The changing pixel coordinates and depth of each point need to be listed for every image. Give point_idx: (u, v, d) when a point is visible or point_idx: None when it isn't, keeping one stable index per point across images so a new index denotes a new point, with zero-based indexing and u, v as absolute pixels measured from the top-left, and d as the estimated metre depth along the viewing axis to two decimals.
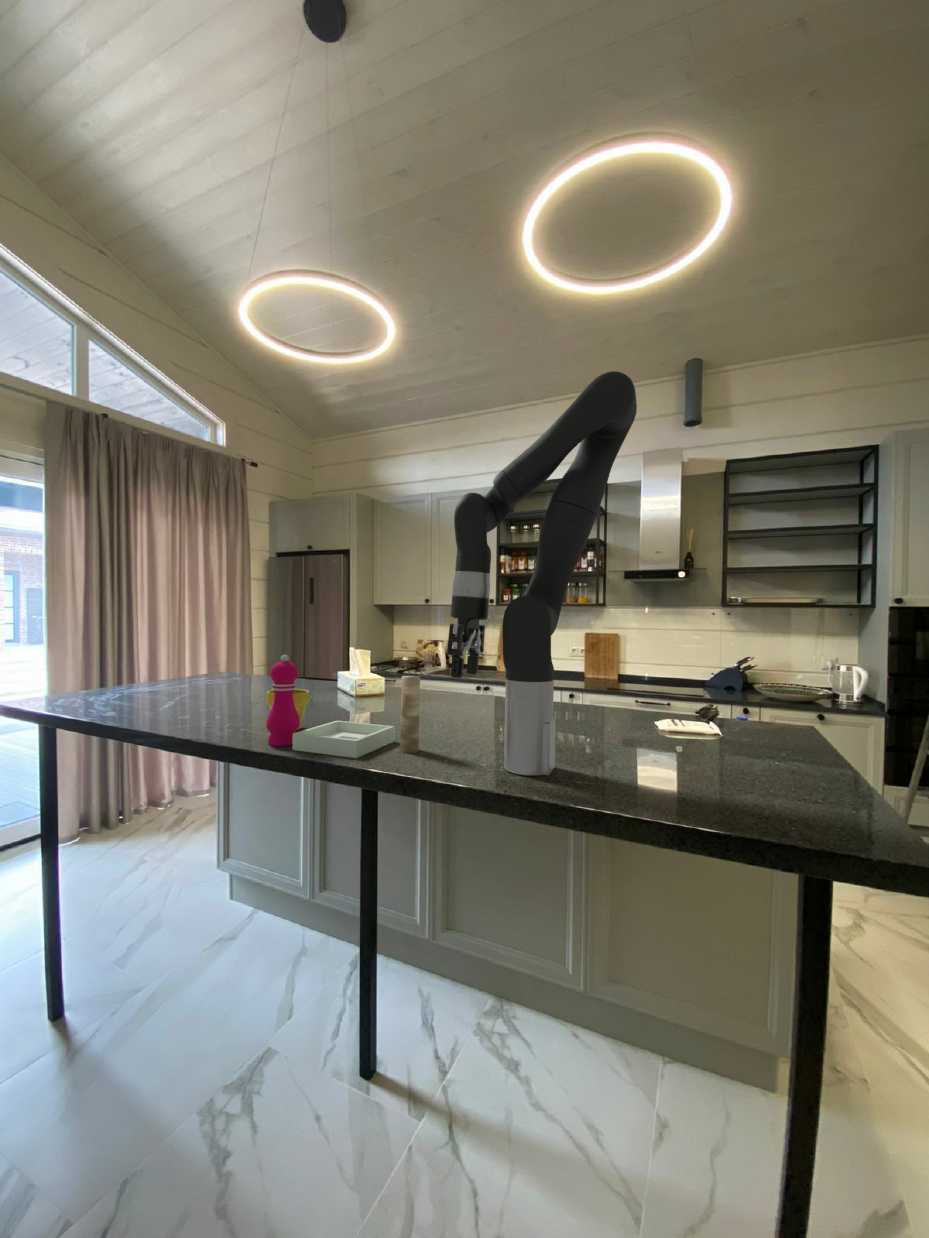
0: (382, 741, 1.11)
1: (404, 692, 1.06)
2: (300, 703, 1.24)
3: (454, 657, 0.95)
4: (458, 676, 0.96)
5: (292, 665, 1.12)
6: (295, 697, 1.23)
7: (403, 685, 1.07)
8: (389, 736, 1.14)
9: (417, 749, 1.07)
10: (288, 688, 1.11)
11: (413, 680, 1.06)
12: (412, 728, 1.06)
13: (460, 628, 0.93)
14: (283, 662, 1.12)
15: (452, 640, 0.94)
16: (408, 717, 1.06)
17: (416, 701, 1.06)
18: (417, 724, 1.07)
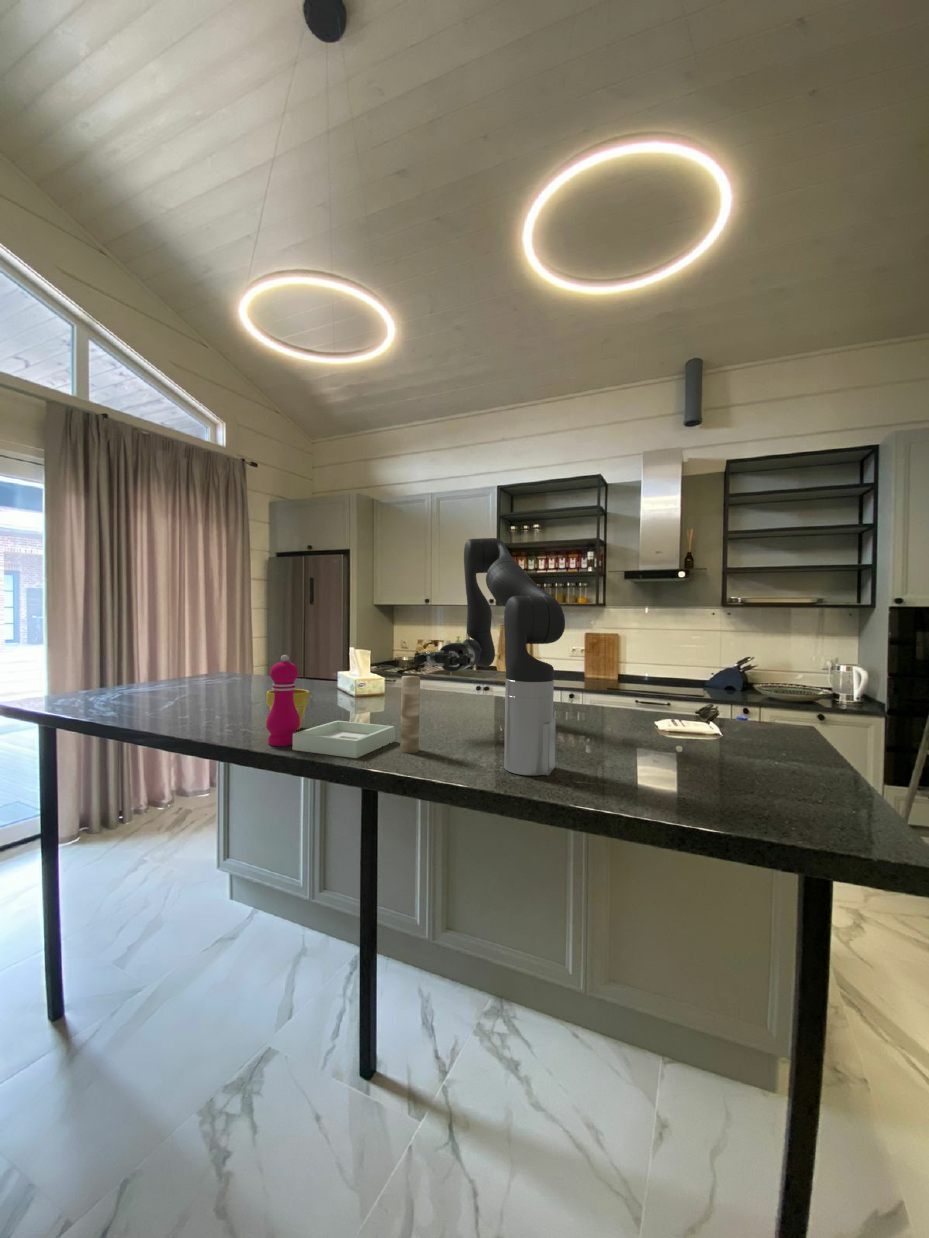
0: (382, 741, 1.11)
1: (404, 692, 1.06)
2: (300, 703, 1.24)
3: None
4: None
5: (292, 665, 1.12)
6: (295, 697, 1.23)
7: (403, 685, 1.07)
8: (389, 736, 1.14)
9: (417, 749, 1.07)
10: (288, 688, 1.11)
11: (413, 680, 1.06)
12: (412, 728, 1.06)
13: None
14: (283, 662, 1.12)
15: None
16: (408, 717, 1.06)
17: (416, 701, 1.06)
18: (417, 724, 1.07)
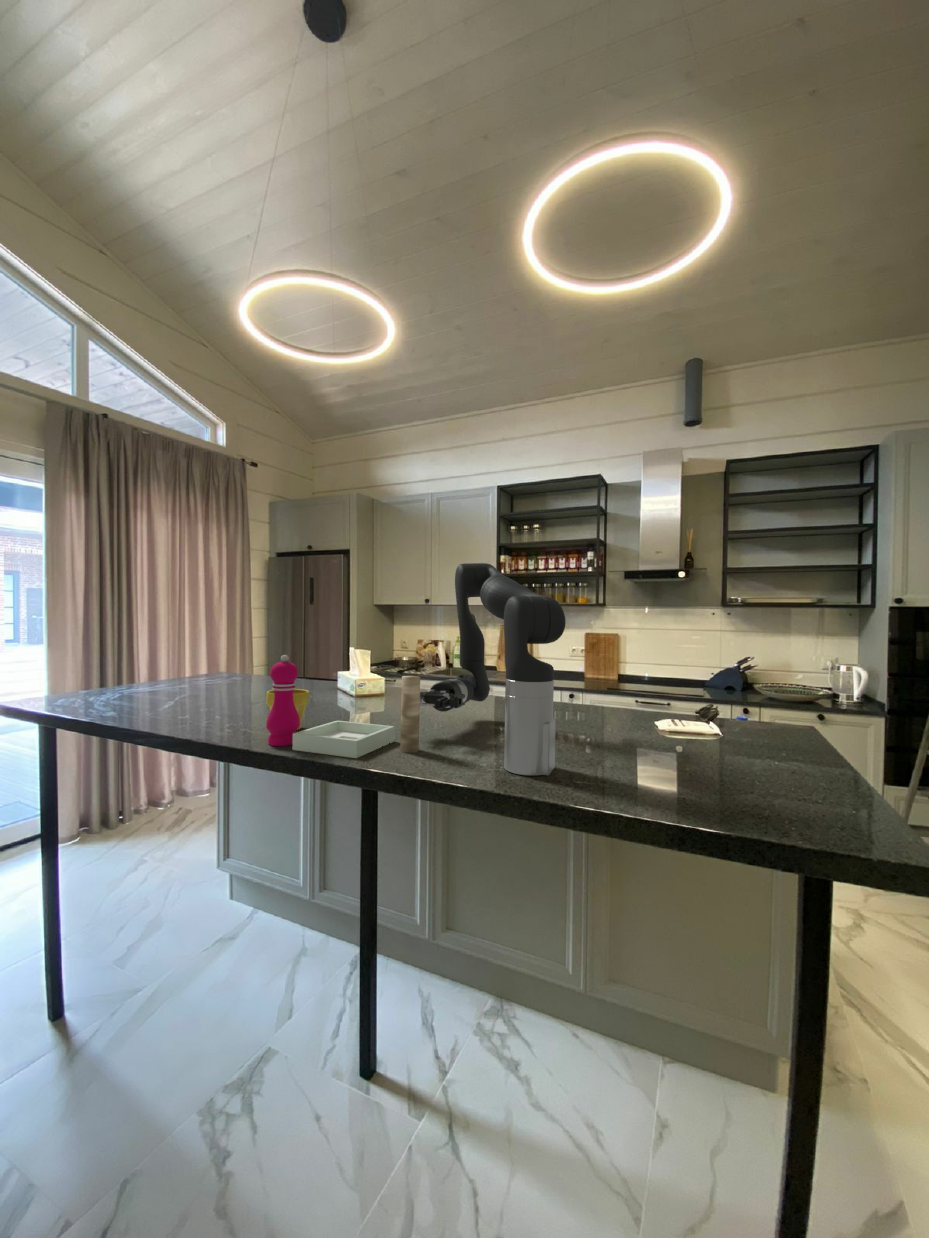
0: (382, 741, 1.11)
1: (404, 691, 1.06)
2: (300, 703, 1.24)
3: None
4: None
5: (292, 665, 1.12)
6: (295, 697, 1.23)
7: (403, 685, 1.07)
8: (389, 736, 1.14)
9: (417, 749, 1.07)
10: (288, 688, 1.11)
11: (413, 680, 1.06)
12: (412, 728, 1.06)
13: None
14: (283, 662, 1.12)
15: None
16: (408, 717, 1.06)
17: (416, 701, 1.06)
18: (417, 724, 1.07)
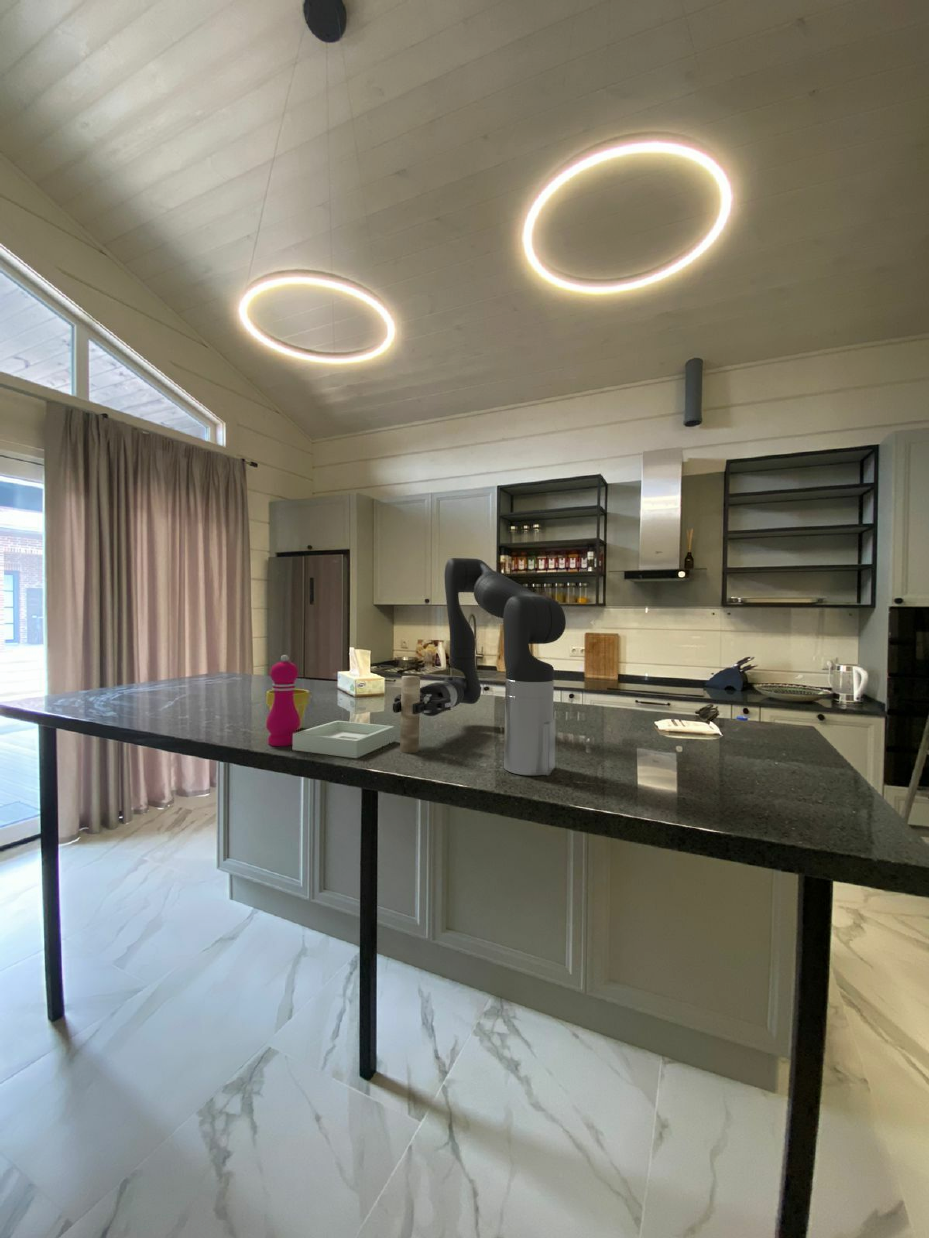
0: (382, 741, 1.11)
1: (404, 691, 1.06)
2: (300, 703, 1.24)
3: None
4: None
5: (292, 665, 1.12)
6: (295, 697, 1.23)
7: (403, 685, 1.07)
8: (389, 736, 1.14)
9: (417, 749, 1.07)
10: (288, 688, 1.11)
11: (413, 680, 1.06)
12: (412, 728, 1.06)
13: (398, 696, 1.16)
14: (283, 662, 1.12)
15: None
16: (408, 717, 1.06)
17: (416, 701, 1.06)
18: (417, 724, 1.07)
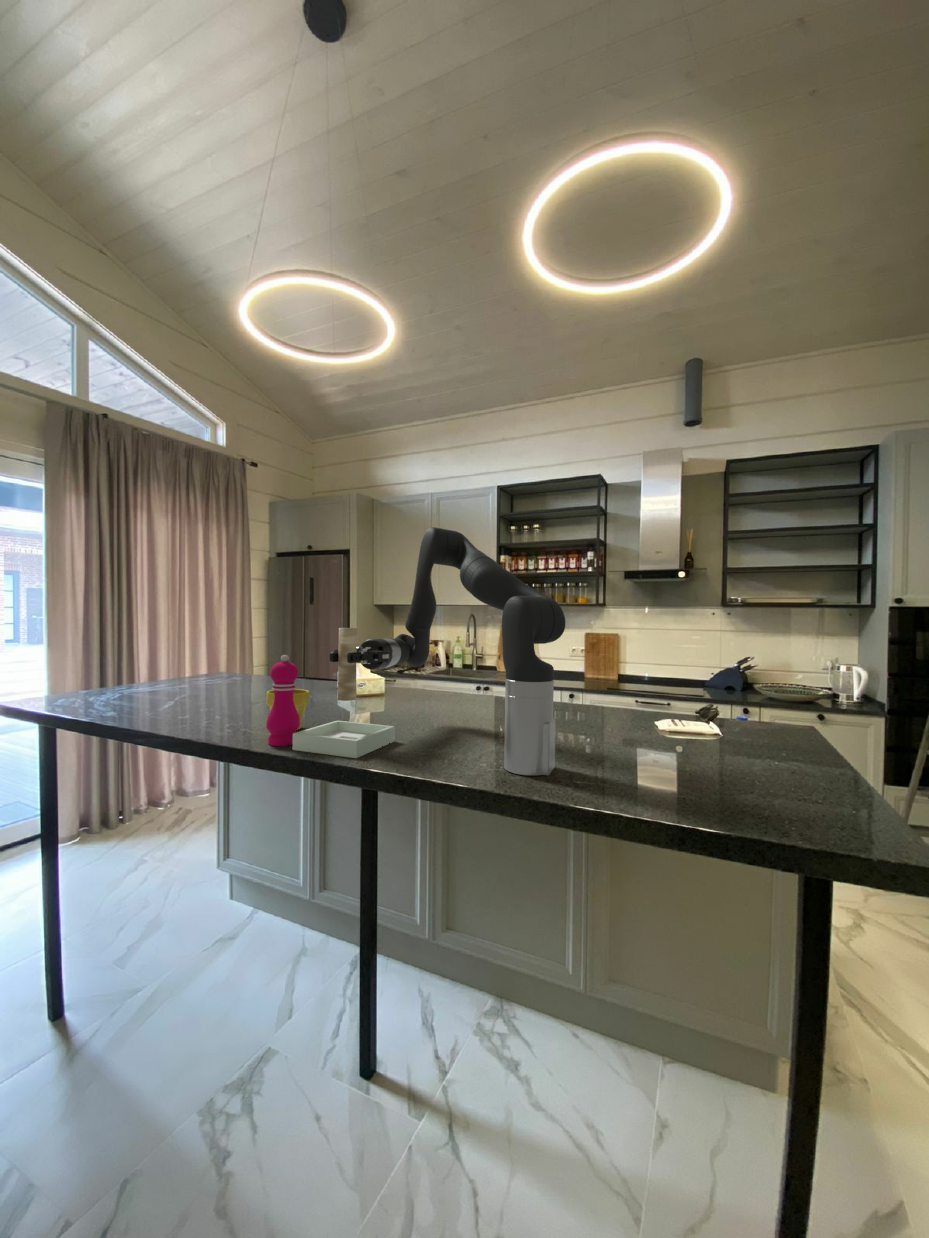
0: (382, 741, 1.11)
1: (340, 642, 1.10)
2: (300, 703, 1.24)
3: None
4: None
5: (292, 665, 1.12)
6: (295, 697, 1.23)
7: (340, 635, 1.10)
8: (389, 736, 1.14)
9: (353, 697, 1.11)
10: (288, 688, 1.11)
11: (349, 631, 1.10)
12: (348, 676, 1.10)
13: None
14: (283, 662, 1.12)
15: None
16: (344, 666, 1.10)
17: (352, 651, 1.10)
18: (353, 673, 1.11)
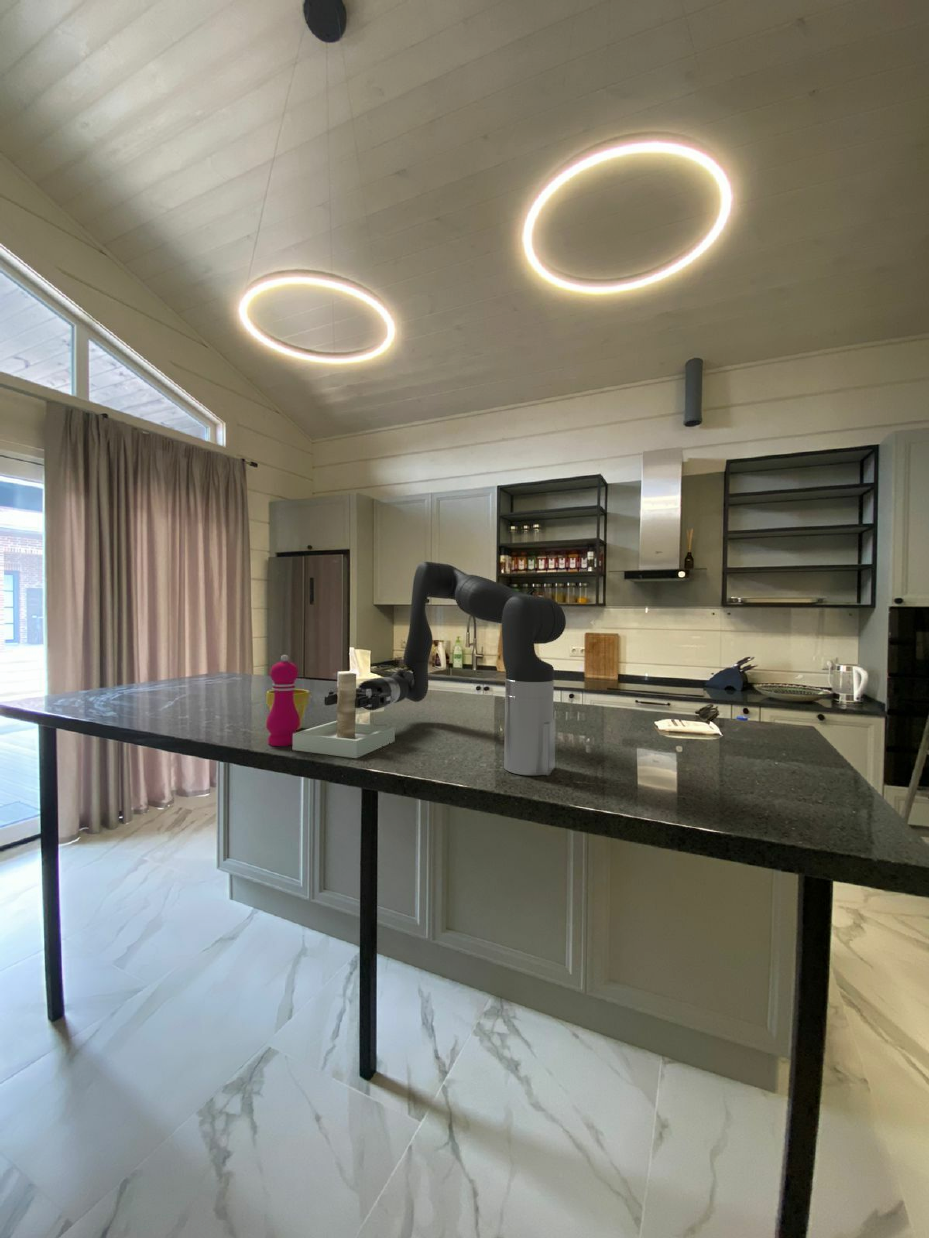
0: (382, 741, 1.11)
1: (340, 688, 1.10)
2: (300, 703, 1.24)
3: None
4: None
5: (292, 665, 1.12)
6: (295, 697, 1.23)
7: (339, 682, 1.10)
8: (389, 736, 1.14)
9: None
10: (288, 688, 1.11)
11: (348, 677, 1.10)
12: (347, 723, 1.10)
13: None
14: (283, 662, 1.12)
15: None
16: (343, 713, 1.09)
17: (351, 697, 1.10)
18: (352, 720, 1.10)
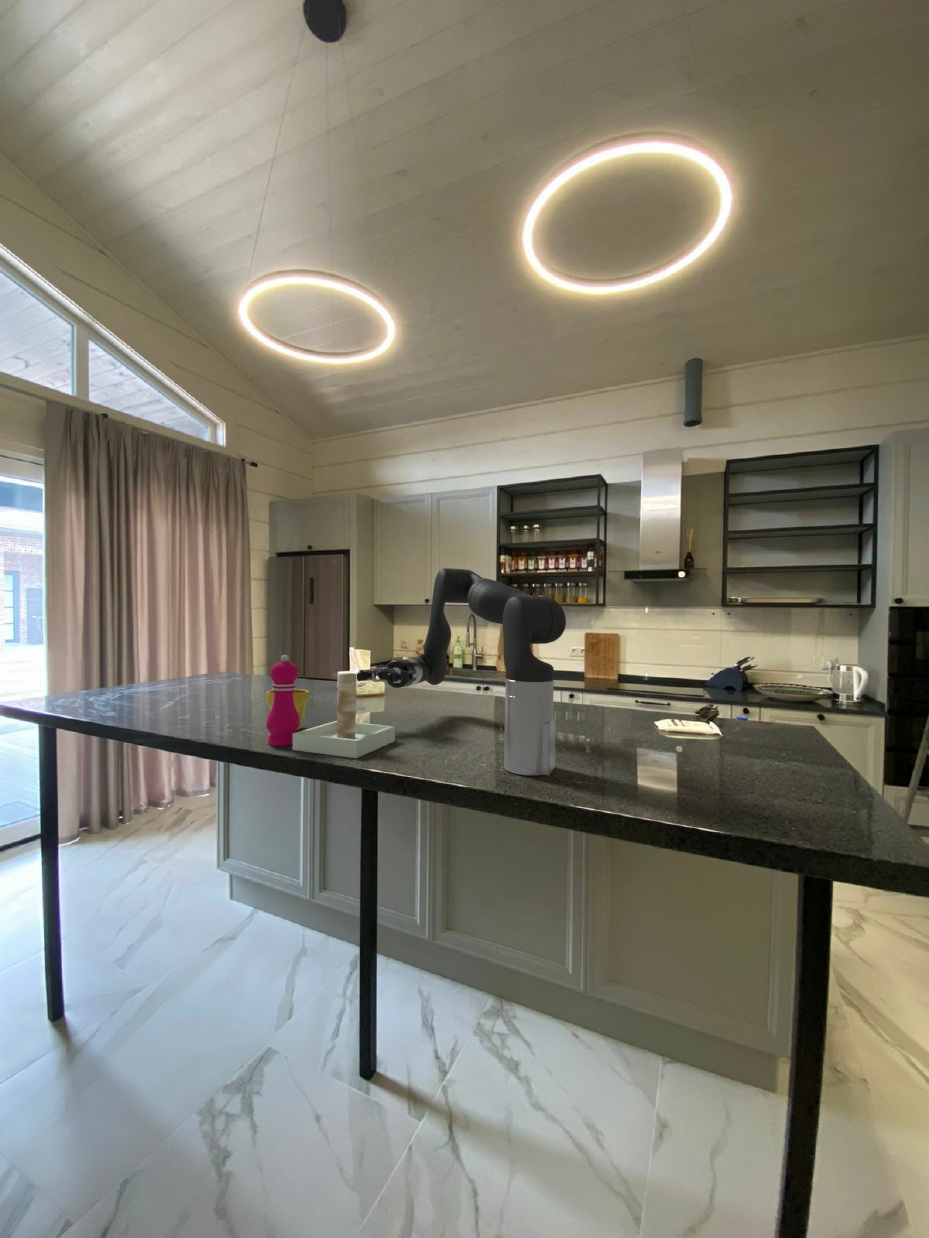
0: (382, 741, 1.11)
1: (340, 688, 1.10)
2: (300, 703, 1.24)
3: None
4: None
5: (292, 665, 1.12)
6: (295, 697, 1.23)
7: (339, 682, 1.10)
8: (389, 736, 1.14)
9: None
10: (288, 688, 1.11)
11: (348, 677, 1.10)
12: (347, 723, 1.10)
13: None
14: (283, 662, 1.12)
15: None
16: (343, 713, 1.09)
17: (351, 697, 1.10)
18: (352, 720, 1.10)
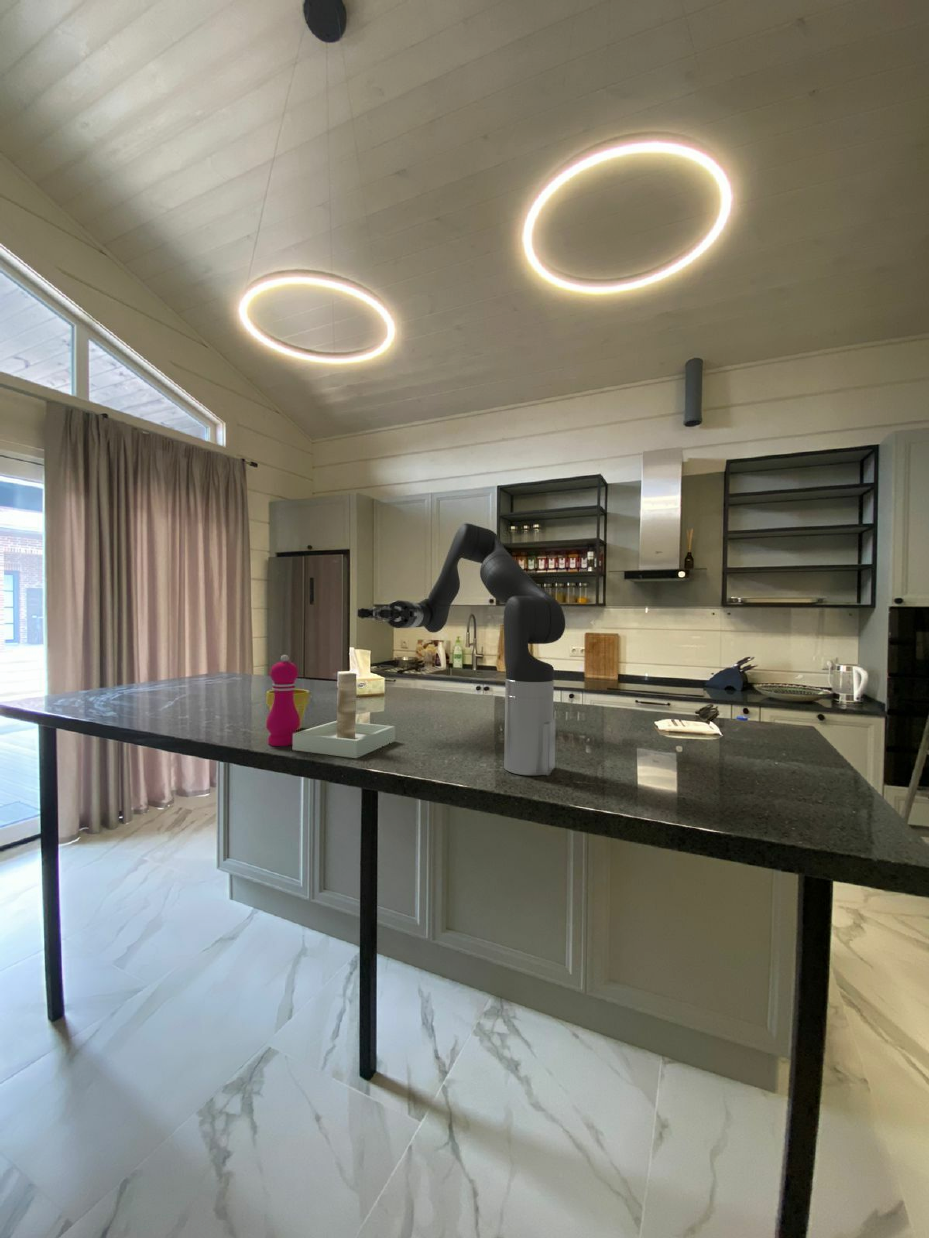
0: (382, 741, 1.11)
1: (340, 688, 1.10)
2: (300, 703, 1.24)
3: None
4: None
5: (292, 665, 1.12)
6: (295, 697, 1.23)
7: (339, 682, 1.10)
8: (389, 736, 1.14)
9: None
10: (288, 688, 1.11)
11: (348, 677, 1.10)
12: (347, 723, 1.10)
13: None
14: (283, 662, 1.12)
15: None
16: (343, 713, 1.09)
17: (351, 697, 1.10)
18: (352, 720, 1.10)
